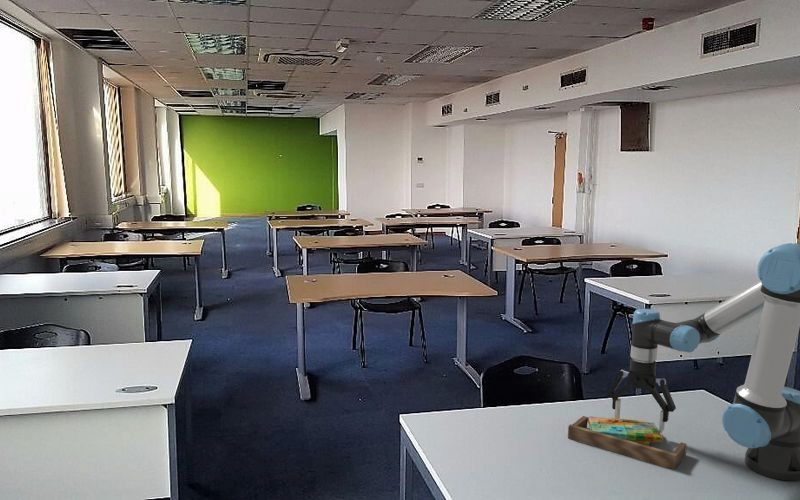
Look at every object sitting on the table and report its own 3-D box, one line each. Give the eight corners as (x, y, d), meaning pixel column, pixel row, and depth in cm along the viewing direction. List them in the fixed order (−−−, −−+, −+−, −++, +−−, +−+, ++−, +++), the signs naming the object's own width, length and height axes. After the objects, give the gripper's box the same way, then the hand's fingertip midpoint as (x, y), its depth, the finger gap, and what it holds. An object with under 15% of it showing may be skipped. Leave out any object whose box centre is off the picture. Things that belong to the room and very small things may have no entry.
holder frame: (685, 455, 181) (686, 442, 181) (674, 469, 173) (675, 455, 172) (582, 426, 200) (583, 414, 200) (567, 438, 192) (568, 425, 191)
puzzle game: (588, 414, 199) (654, 419, 196) (587, 428, 200) (653, 433, 197) (592, 429, 188) (663, 435, 185) (591, 444, 188) (662, 450, 185)
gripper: (689, 364, 188) (684, 432, 191) (607, 348, 203) (603, 411, 206) (683, 371, 182) (677, 440, 185) (599, 354, 197) (595, 418, 200)
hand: (638, 425), depth 195 cm, fingers open, 13 cm apart
